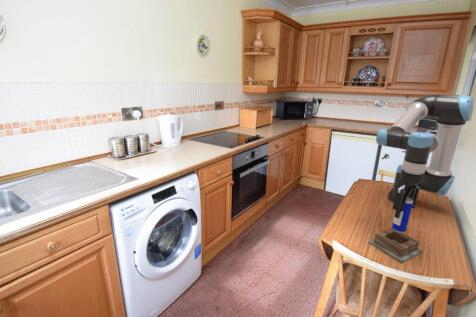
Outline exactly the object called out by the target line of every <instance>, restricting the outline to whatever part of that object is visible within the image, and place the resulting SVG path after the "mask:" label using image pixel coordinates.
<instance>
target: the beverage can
mask: <svg viewBox="0 0 476 317" xmlns="http://www.w3.org/2000/svg"><path fill="white" fill-rule="evenodd" d="M412 205H413V199H411V198H409V197H407V200H406V202H405V205H404V208H403V210H402V211H403V215H402V219H401V224H400V226H398V225H396V224H394V223H393V222H392V225H391V228H393V230H395V231H397V232H400V233H403V234H404V233H405V232H406V231H407V228H408V224H409V220H410V217H411V213H412V212H411V211H412V209H413V208H412Z"/></svg>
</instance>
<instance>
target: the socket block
mask: <svg viewBox="0 0 476 317" xmlns="http://www.w3.org/2000/svg"><path fill="white" fill-rule="evenodd" d="M368 244H370V245H371V246H372V247H374V248H375V249H378V250H379V251H381V252H382V253H384V254H386V255H387V256H389V257H390V258H392V259H394V260H395V261H397V262H398V263H400V264H404V263H405V262H407V261H409V260H411V259H413V258H415V257H417V256H419V255H420V254H422V253H423V252H424V251H423V250H422V249H421V248H419V244H420V241H419V240H418V239H415V238H413V237H411V236H409V235H407V234H406V233H404V232H403V233H400V232H397V231H395V230H393V228H392V227H390V228H387V229H385V230H382V231H379V232H378V233H375V235H374V238H372V239H370V240H368Z"/></svg>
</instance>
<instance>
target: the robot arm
mask: <svg viewBox="0 0 476 317" xmlns="http://www.w3.org/2000/svg"><path fill="white" fill-rule="evenodd" d="M473 112H474V99H473V97H472V96H469V95H462V94H438V93H437V94H436V93H435V94H427V95H424V96H420V97H419V98H417V99H415V100H413V101H412V102H410V103H409V104H408V105H407V107H406V109H405V111H404V113H403V114H402V115H401V116H400V117H399V118H398V119H396V121H395V122H394V123H393V124H392V125H391V126H390V127H389V128H388V129H387V128H380V129H379V130H378V132H377V134H376V138H375V139H376V140H375V141H376V144H377V145H380V146H384V147H389V148H394V149H400V150H405V152H404V153H405V155H404V159H403V161H402V163H401V164H398V166H397V168H396V171H395V177H394V182H393V184H392V187H391V189H390V190H389V192H388V194H387V199H388V200H389V201H390V202H392V210H395V211H394V216H393V220H392V224H393V223H394V224H396V225H398V226H400V224H401V219H402V215H403V211H402V210H403V208H404V205H405V202H406V200H407V197H409V198H411V199H413V205H412V209H415V208H416V205H417V202H418V198H419V193H420V190H421V191H425V192H428V193H432V194H435V195H440V196H445V195H447V194H448V192H449V190H450V189H451V186H452V184H453V183H454V181H455V178H456V177H455V176H454V175H453V172H452V170H451V169H450V168H451V164H452V160H453V156H454V152H455V149H456V146H457V145H456V144H457V142H458V137H459V133H460V129H461V127H463V126H465V125H466V122H469V121H471V120H472V116H473ZM424 118H433V119H435V123H436V124H437V131H436V135H434V134H432V133H429V132H422V131H421V132H418V131H417V132H415V131H414V132H411V130H413V129H414V127H415V126H416V125H417V124H418V123H419V121H421V120H423V119H424ZM430 154H431V157H430V163H429V165H428V159H429V156H430ZM427 165H428V166H427Z"/></svg>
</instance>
